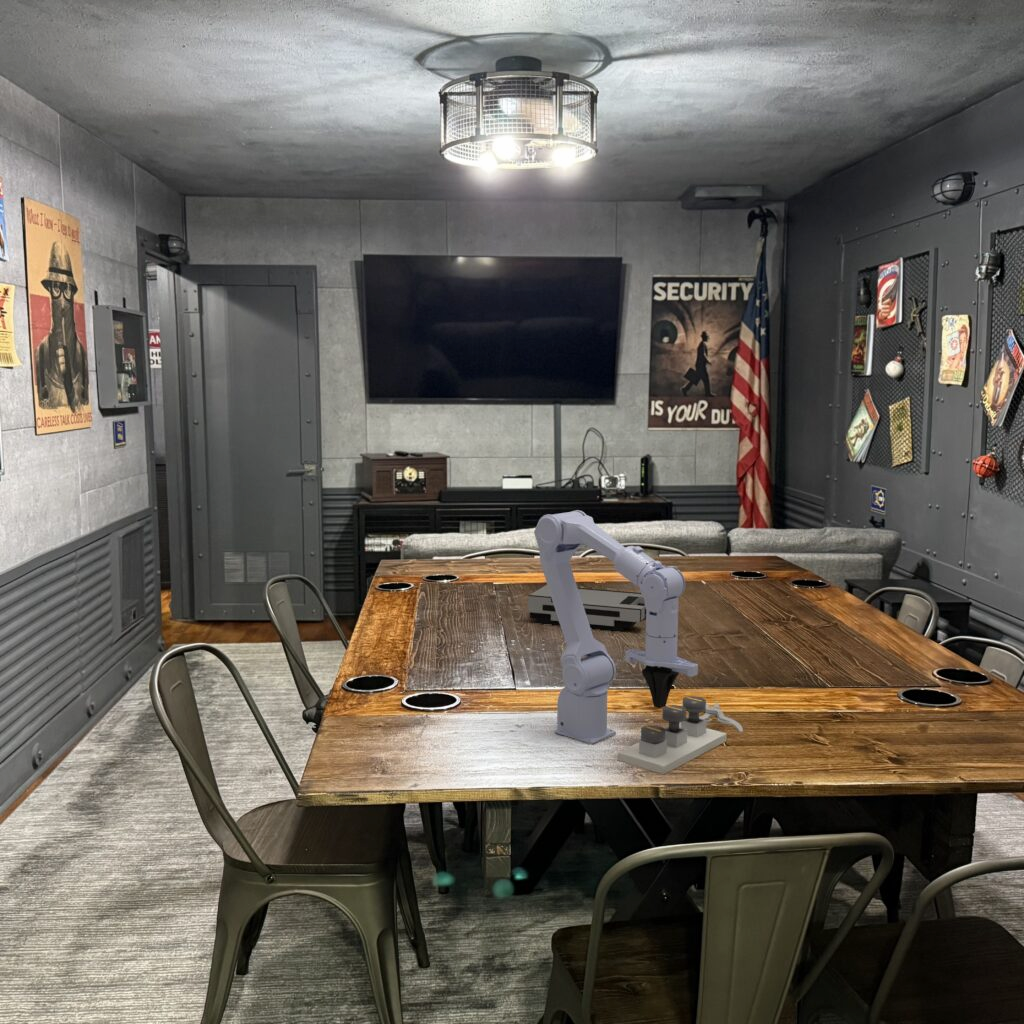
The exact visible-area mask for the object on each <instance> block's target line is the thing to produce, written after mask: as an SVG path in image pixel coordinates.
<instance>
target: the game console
mask: <svg viewBox="0 0 1024 1024" xmlns="http://www.w3.org/2000/svg"><path fill="white" fill-rule="evenodd" d="M577 588H578V591H579V594H580V597H581V600H582V603H583V606H584V610H585V613H586V616H587V619H588V622H589V625H590V628H592V629H591V630H595V629H600V630H599V631H606V630H610V631H609V632H616V631H620V632H619V633H623V632H624V631H625V630H626V629H628V628H633V627H634V626H635V625H636V624H637V623H641V622H642V621H643V620H644V619H645V618H646V607H645V600H644V597H643V596H642V594H641V592H636V591H635V592H634V591H633V592H632V591H623V590H611V589H609V590H608V589H599V588H598V589H597V588H588V587H587V588H584V587H577ZM527 612H528V613H529V618H530V619H535V620H536V623H542V624H541V625H544V624H552V625H551V626H554V625H560V623H559V620H558V617H557V613H556V610H555V607H554V604H553V601H552V598H551V595H550V591H549V588H548V585H547V584H545V585H544V586H542V587H541V588H539V589H537V590H535V591H534V592H532V593H530V594H529V595H527ZM536 623H535V624H536Z"/></svg>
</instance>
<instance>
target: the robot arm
mask: <svg viewBox="0 0 1024 1024" xmlns="http://www.w3.org/2000/svg"><path fill="white" fill-rule="evenodd" d="M533 533H534V537H535V539H536V542H537V543H536V544H537V547H538V550H539V551H538V552H539V562H540V567H541V569H542V573H543V575H544V579H545V582H546V585H548V588H549V591H550V595H551V598H552V601H553V604H554V607H555V610H556V613H557V617H558V620H559V623H560V626H559V627H560V630H561V632H562V635H563V637H564V641H565V645H566V648H565V650H564V651H563V652H562V655H561V657H560V663H561V667H562V673H561V674H562V682H563V684H564V687H563V688H562V689H561V690H560V692H559V695H558V698H557V703H556V707H557V712H556V714H557V716H556V717H557V718H556V719H557V720H556V723H557V724H556V726H557V727H556V729H555V730H554V733H555V734H558V735H561V736H565V737H568V738H570V739H571V738H572V739H575V740H578V741H581V742H583V743H584V742H585V743H587V744H593V745H594V744H596V743H598V742H600V741H603V740H605V739H607V738H609V737H612V736H613V735H616V734H617V731H616V730H614V729H610V728H608V690H610V689H611V688H610V685H611V683H612V682H613V681H614V679H615V678H616V674H617V669H616V663H615V662H614V660H613V659H612V657H611V656H610V655H609V653H608V651H607V648H606V646H605V645H604V644H603V643H602V642H600V641H599V640H597V639H596V638H595V636H594V634H593V632H592V629H591V628H590V625H589V622H588V619H587V616H586V613H585V610H584V606H583V603H582V600H581V597H580V594H579V591H578V588H579V587H578V585H577V582H576V579H575V576H574V572H573V568H572V567H571V564H570V563H571V560H572V558H573V556H574V554H575V553H576V552H577V550H578V549H580V548H581V546H582V545H585V546H587V547H589V548H590V549H591V550H593V551H595V552H596V553H598V554H600V555H602V556H603V557H605V558H607V559H608V560H610V561H612V562H613V563H614V564H613V565H614V568H615V569H614V570H615V572H616V573H618V574H619V575H620V576H622V577H624V578H625V579H627V580H628V581H629V582H631V584H633V585H635V586H636V587H637V588H639V590H640V593H641V594H642V596H643V597H644V600H645V607H646V614H645V649H644V650H638V649H632V648H631V649H628V650H626V651H625V652H624V653H625V654H624V655H625V660H624V661H625V662H627V663H632V662H633V663H637V664H642V665H645V668H643V669H641V674H642V676H643V679H644V680H645V681H646V684H647V685H648V688H649V693H650V695H651V699H652V704H653V707H654V708H657V709H661V708H662V709H663V707H664V706H667V702H668V698H669V696H670V692H671V689H672V687H673V685H674V683H675V681H676V679H677V678H678V677H679V674H684V675H687V677H690V678H693V677H695V676H698V675H699V664H698V663H695V662H691V661H688V660H686V659H684V658H681V657H679V656H678V633H679V631H678V629H679V600H680V599H679V597H680V596H682V594H684V591H685V589H686V579H685V576H684V574H683V573H682V572H681V571H680V569H678V567H677V566H675V565H668V566H664V565H663V564H662V562H661V561H659V560H655V559H654V558H653V557H651V556H649V555H648V554H646V553H645V552H643V551H644V548H642V547H641V546H639V545H637V546H634V545H629V546H624V545H622V543H620V542H619V541H617V539H615V538H614V537H613V536H611V535H610V534H609V533H608V532H606V531H605V530H603V529H602V527H600V526H598V525H597V524H596V523H595V522H594V518H593V517H592V516H590V515H587V514H586V513H585V512H584V511H583V510H579V509H576V510H572V511H569V512H561V513H554V514H551V513H550V514H549V513H547V514H544V515H543V516H541V517H540V518H539V520H538V522H537V524H536V526H535V529H534V531H533ZM584 656H585V657H584ZM582 657H583V658H582Z"/></svg>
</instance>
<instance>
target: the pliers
mask: <svg viewBox="0 0 1024 1024" xmlns="http://www.w3.org/2000/svg"><path fill="white" fill-rule="evenodd" d="M703 713H704V714H703V715H699V718H700V719H704V720H707V724H709V723H710V722H713V718H710V717H715V716H716V718H717V719H716V721H717V722H718V723H721V724H725V725H728V726H729V725H730V726H733V727H734V728H735V729H736V730H737V731H738V732H739V734H743V732H744V731H743V729H744V728H743V726H742V725H741V724H740V723H739V722H738V721H736V720H735V719H733V718H731V717H727V716H725V713H724V712H723V711H722V710H721V709H720V703H719V702H715V703H714V705H713V706H711V705H709V704H708V703H707V702H706V710H705V711H704V712H703Z"/></svg>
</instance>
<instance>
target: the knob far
mask: <svg viewBox="0 0 1024 1024" xmlns="http://www.w3.org/2000/svg"><path fill="white" fill-rule="evenodd" d="M706 703H707V700H706V699H705V698H704V697H701V696H696V695H695V696H694V695H692V696H691V695H690V696H685V697H683V698H682V707H685V708H686V713H687V712H688V716H687V717H688V721H689V722H692V723H697V722H699V717H700V714H701V713H705V712H704V711H705V710H706Z"/></svg>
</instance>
